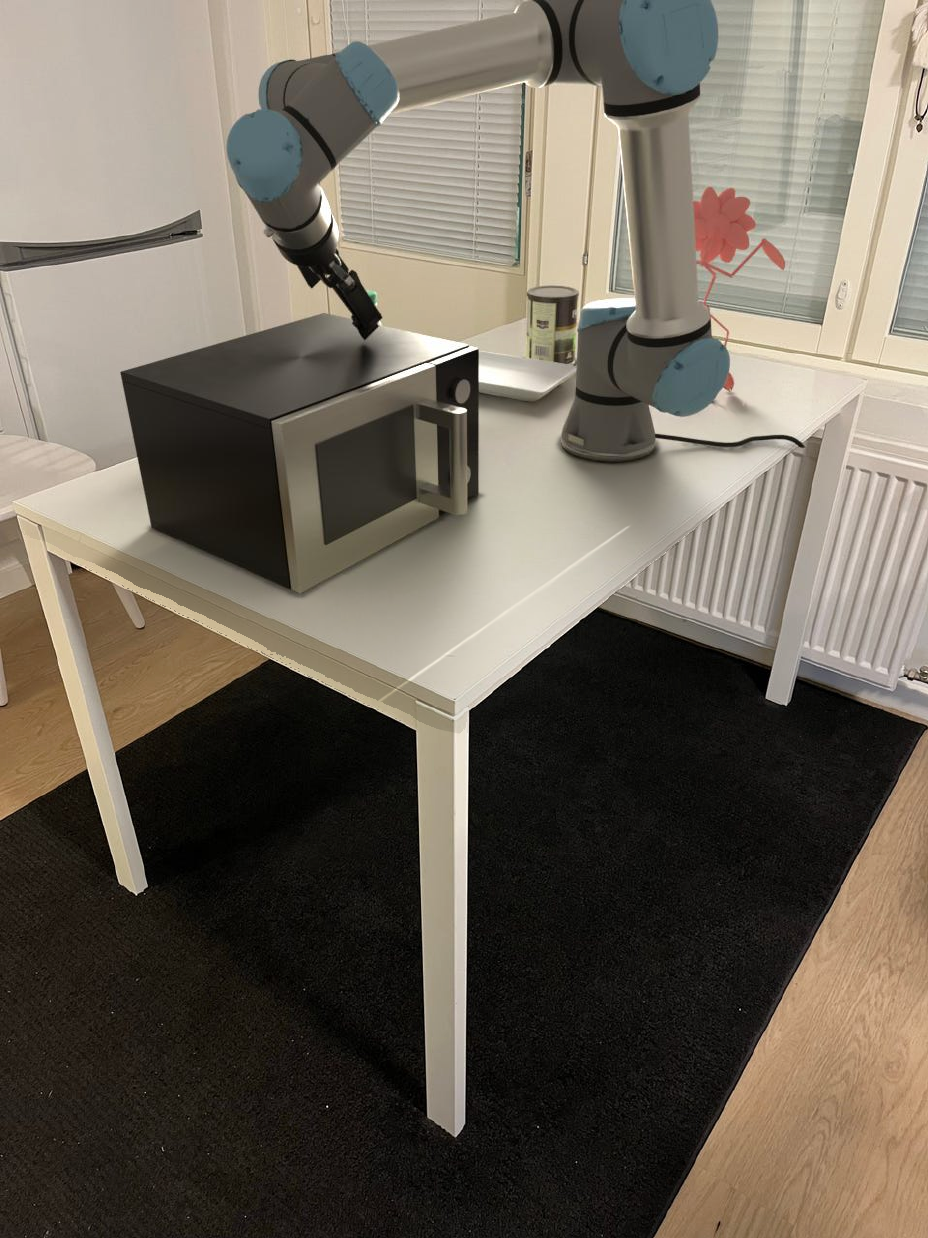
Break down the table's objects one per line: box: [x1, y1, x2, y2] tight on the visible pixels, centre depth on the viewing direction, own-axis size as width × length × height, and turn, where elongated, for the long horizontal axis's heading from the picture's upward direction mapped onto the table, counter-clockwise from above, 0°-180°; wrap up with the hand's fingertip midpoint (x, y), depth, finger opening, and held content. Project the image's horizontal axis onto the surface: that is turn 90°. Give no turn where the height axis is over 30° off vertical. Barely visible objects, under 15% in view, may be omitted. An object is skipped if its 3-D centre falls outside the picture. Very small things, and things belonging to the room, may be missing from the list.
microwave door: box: [271, 363, 468, 595], centre depth 118 cm, size 9×27×22 cm, turn 142°
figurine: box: [693, 186, 786, 407], centre depth 172 cm, size 15×26×35 cm, turn 60°
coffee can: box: [525, 285, 580, 366], centre depth 191 cm, size 10×10×14 cm
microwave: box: [119, 312, 480, 591], centre depth 130 cm, size 30×36×22 cm
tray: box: [479, 349, 577, 403], centre depth 183 cm, size 17×32×4 cm, turn 60°
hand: (343, 305), depth 132 cm, fingers open, 10 cm apart
